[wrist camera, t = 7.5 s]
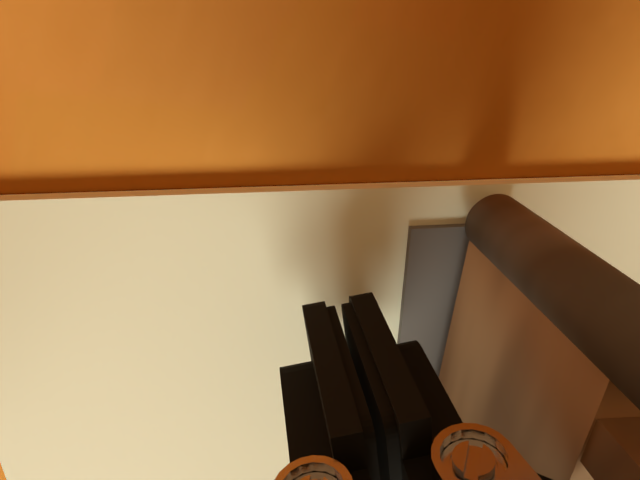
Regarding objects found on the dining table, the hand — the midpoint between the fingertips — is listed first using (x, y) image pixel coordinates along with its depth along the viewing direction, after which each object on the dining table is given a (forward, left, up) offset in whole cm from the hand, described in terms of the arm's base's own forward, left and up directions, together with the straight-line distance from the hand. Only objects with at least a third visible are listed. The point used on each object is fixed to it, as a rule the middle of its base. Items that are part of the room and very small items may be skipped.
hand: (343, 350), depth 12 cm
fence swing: (-4, 0, -1) cm, 4 cm away
